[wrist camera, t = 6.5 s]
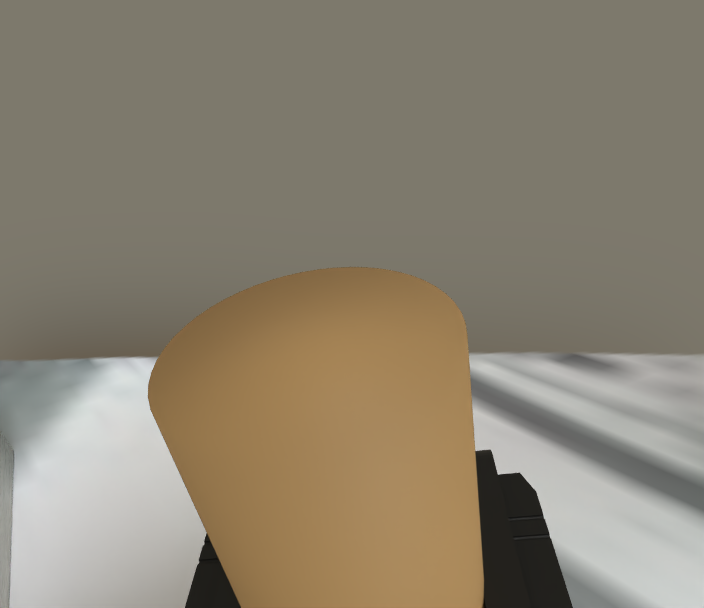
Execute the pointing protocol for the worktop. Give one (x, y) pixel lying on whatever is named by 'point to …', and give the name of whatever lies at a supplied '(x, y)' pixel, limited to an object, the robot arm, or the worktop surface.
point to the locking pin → (330, 441)
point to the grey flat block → (5, 517)
